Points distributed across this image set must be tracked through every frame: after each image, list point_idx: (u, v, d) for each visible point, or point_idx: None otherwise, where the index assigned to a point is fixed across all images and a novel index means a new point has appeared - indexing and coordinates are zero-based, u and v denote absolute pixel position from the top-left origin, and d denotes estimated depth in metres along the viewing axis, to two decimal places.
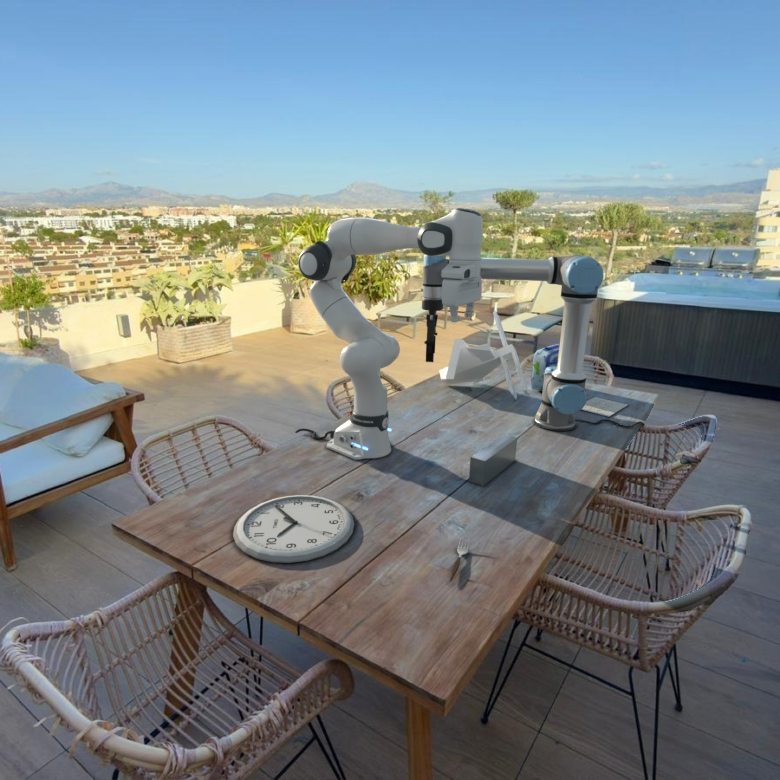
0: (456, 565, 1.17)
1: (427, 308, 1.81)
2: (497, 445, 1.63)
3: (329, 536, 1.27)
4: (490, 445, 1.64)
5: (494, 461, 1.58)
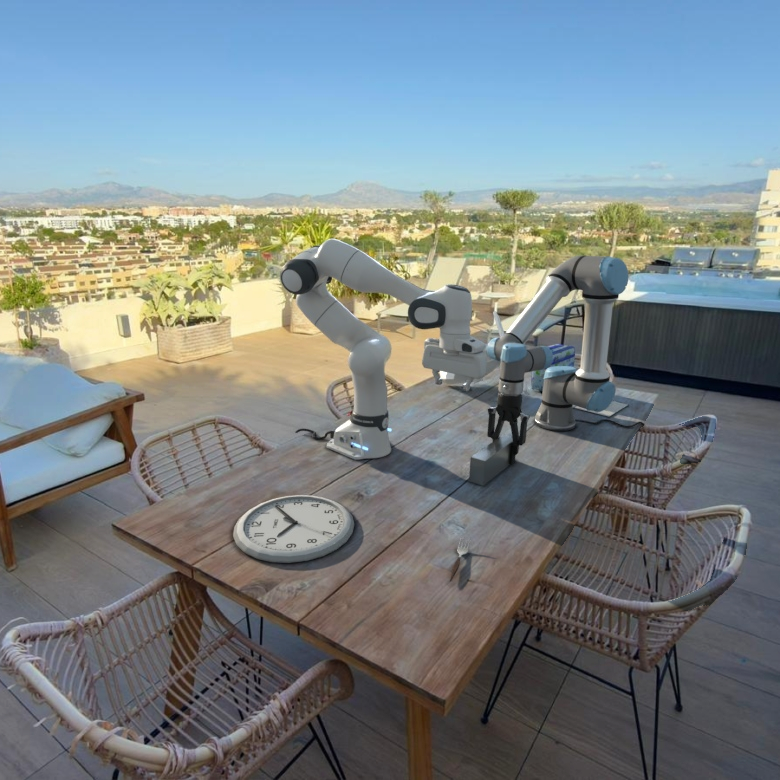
0: (456, 565, 1.17)
1: (517, 405, 1.62)
2: (497, 445, 1.63)
3: (329, 536, 1.27)
4: (490, 445, 1.64)
5: (494, 461, 1.58)
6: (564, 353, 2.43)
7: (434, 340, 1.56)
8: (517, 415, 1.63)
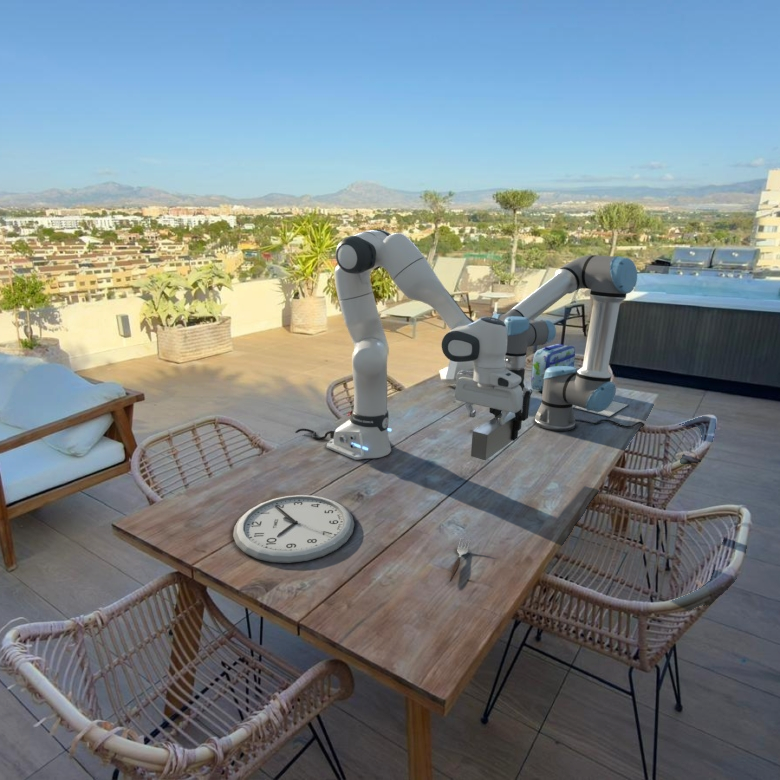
0: (456, 565, 1.17)
1: None
2: None
3: (329, 536, 1.27)
4: (492, 420, 1.61)
5: (496, 436, 1.56)
6: (564, 353, 2.43)
7: (467, 372, 1.53)
8: None
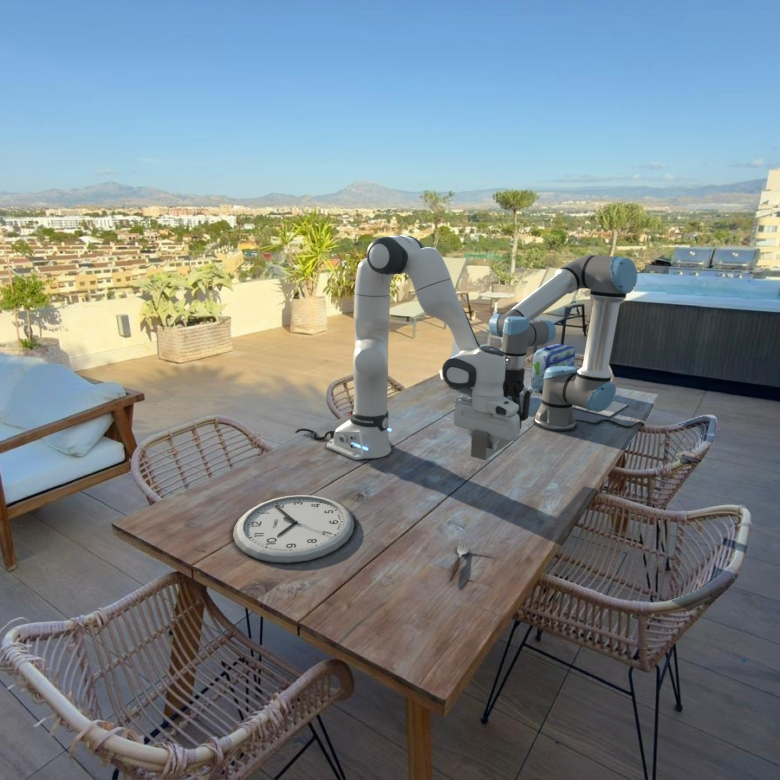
0: (456, 565, 1.17)
1: (519, 380, 1.59)
2: None
3: (329, 536, 1.27)
4: None
5: None
6: (564, 353, 2.43)
7: (466, 399, 1.55)
8: (520, 390, 1.61)
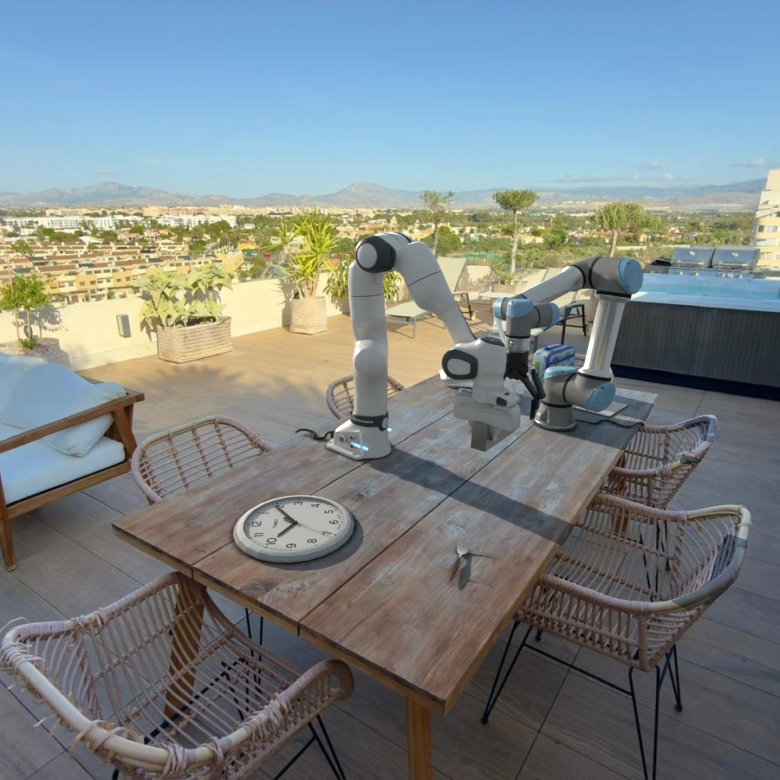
0: (456, 565, 1.17)
1: (524, 362, 1.59)
2: None
3: (329, 536, 1.27)
4: None
5: None
6: (564, 353, 2.43)
7: (466, 390, 1.54)
8: (524, 372, 1.61)
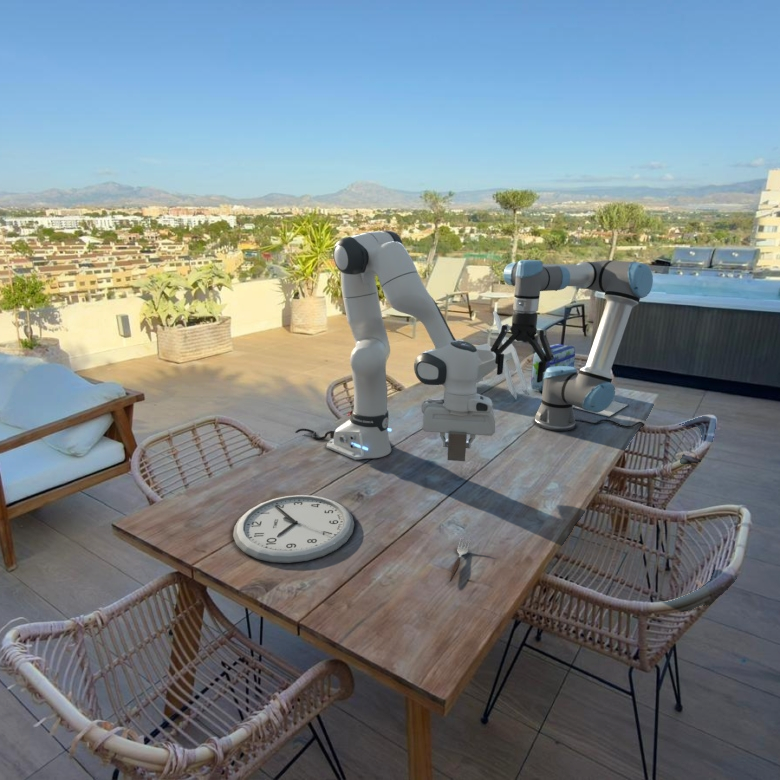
0: (456, 565, 1.17)
1: (532, 323, 1.59)
2: None
3: (329, 536, 1.27)
4: None
5: None
6: (564, 353, 2.43)
7: (435, 401, 1.44)
8: (532, 334, 1.60)
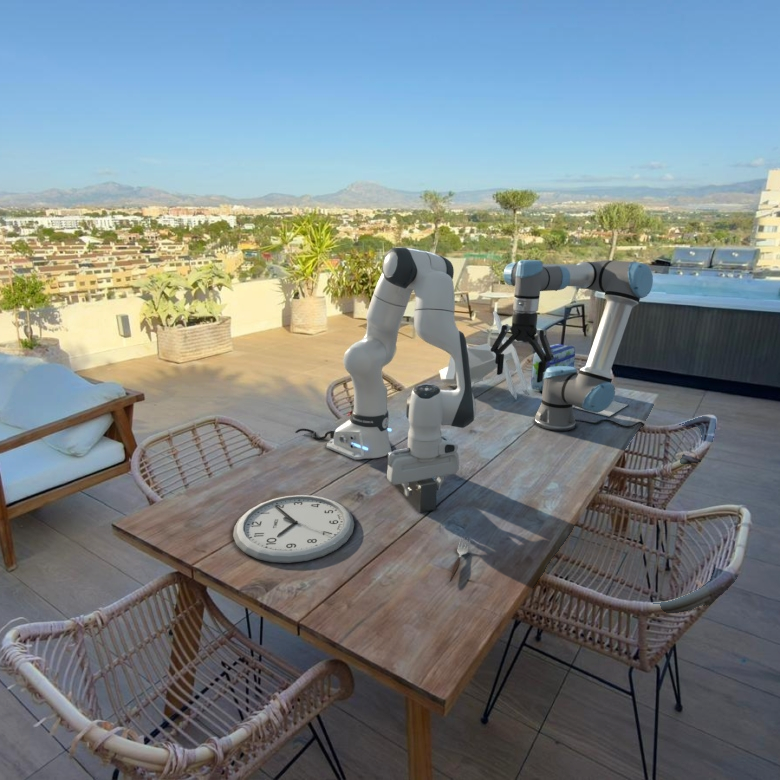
0: (456, 565, 1.17)
1: (532, 323, 1.59)
2: None
3: (329, 536, 1.27)
4: None
5: None
6: (564, 353, 2.43)
7: (402, 451, 1.36)
8: (532, 334, 1.60)
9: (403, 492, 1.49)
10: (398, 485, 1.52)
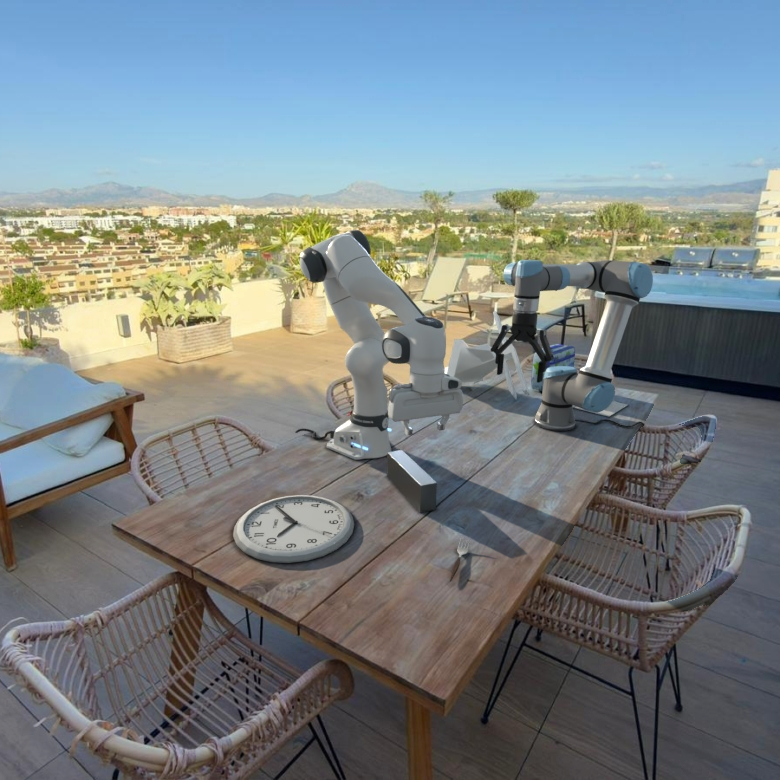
0: (456, 565, 1.17)
1: (532, 323, 1.59)
2: (410, 464, 1.49)
3: (329, 536, 1.27)
4: (405, 467, 1.48)
5: None
6: (564, 353, 2.43)
7: (403, 386, 1.30)
8: (532, 334, 1.60)
9: (403, 492, 1.49)
10: (398, 485, 1.52)
